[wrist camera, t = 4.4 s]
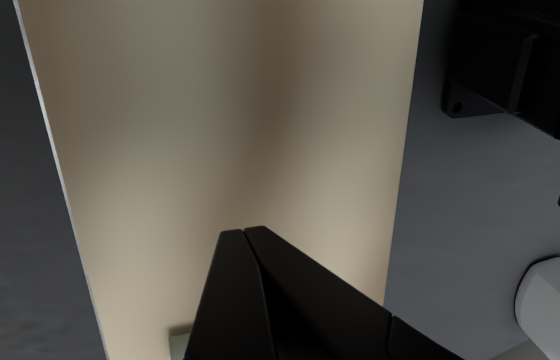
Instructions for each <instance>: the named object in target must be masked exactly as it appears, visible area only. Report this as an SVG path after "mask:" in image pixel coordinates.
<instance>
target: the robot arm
mask: <svg viewBox="0 0 560 360" xmlns="http://www.w3.org/2000/svg"><path fill="white" fill-rule="evenodd" d="M446 76H447V79H446V85H445V91H444V97H443V103H442V111H443V113H445V114H446V115H448V116H449V117H451V118H463V117H471V116H479V115H488V114H496V113H504V112H506V113H508V114H512V115H514V116H515V117H517V118H519V119H521V120H523V121H524V122H526V123H528V124H530V125H532V126H533V127H535V128H537V129H539V130H541V131H542V132H544V133H546V134H548V135H550V136H551V137H553V138H555V139H559V140H560V0H460V4H459V10H458V15H457V17H456V20H455V26H454V32H453V38H452V43H451V49H450V55H449V61H448V67H447V73H446ZM455 103H457V106H456V107H455V108H454V109H452V107H453V105H454V104H455ZM558 205H559V206H560V196H559V199H558ZM183 360H464V359H463V358H461V357H459V356H458V355H456V354H454V353H452V352H451V351H449V350H447V349H446V348H444V347H442V346H441V345H439V344H437V343H436V342H434V341H433V340H431V339H430V338H428V337H427V336H425V335H424V334H422V333H421V332H419V331H417V330H416V329H414V328H413V327H411V326H410V325H408V324H407V323H406V322H404V321H403V320H401V319H400V318H398V317H397V316H392V313H391V312H389V311H388V310H386V309H385V308H383V307H382V306H381V305H379V304H378V303H376V302H375V301H373V300H372V299H370V298H369V297H368V296H366V295H365V294H363V293H362V292H360V291H359V290H357V289H356V288H354V287H353V286H352V285H350V284H349V283H347V282H346V281H344V280H343V279H341V278H340V277H339V276H337V275H336V274H334V273H333V272H331V271H330V270H328V269H327V268H325V267H324V266H323V265H321V264H320V263H318V262H317V261H315V260H314V259H312V258H311V257H309V256H308V255H307V254H305V253H304V252H302V251H301V250H299V249H298V248H296V247H295V246H294V245H292V244H291V243H289V242H288V241H286V240H285V239H283V238H282V237H280V236H279V235H278V234H276V233H275V232H273V231H272V230H270V229H269V228H267V227H266V226H263V225H261V226H254V227H246V228H244V229H243V231H242V230H241V229H232V230H224V231H221V232H220V233H219V236H218V240H217V243H216V247H215V250H214V254H213V257H212V260H211V264H210V267H209V271H208V274H207V278H206V281H205V285H204V288H203V292H202V295H201V298H200V302H199V305H198V309H197V312H196V316H195V319H194V323H193V326H192V330H191V333H190V336H189V340H188V343H187V347H186V350H185V354H184V358H183Z"/></svg>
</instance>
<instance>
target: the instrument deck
mask: <svg viewBox="0 0 560 360" xmlns="http://www.w3.org/2000/svg"><path fill="white" fill-rule="evenodd" d="M17 1H18V5H19V9H20V12H21V16H22V20H23V24H24V28H25V32H26V36H27V40H28V44H29V48H30V51H31V55H32V59H33V63H34V67H35V71H36V75H37V79H38V83H39V86H40V90H41V94H42V98H43V102H44V106H45V110H46V114H47V118H48V122H49V125H50V129H51V133H52V137H53V141H54V145H55V149H56V153H57V157H58V161H59V164H60V168H61V172H62V176H63V180H64V184H65V188H66V192H67V196H68V200H69V203H70V207H71V211H72V215H73V219H74V223H75V227H76V231H77V235H78V239H79V242H80V246H81V250H82V254H83V258H84V262H85V266H86V270H87V274H88V278H89V281H90V285H91V289H92V293H93V297H94V301H95V305H96V309H97V313H98V317H99V320H100V324H101V328H102V332H103V336H104V340H105V344H106V348H107V352H108V356H109V359H110V360H183V358H184V354H185V350H186V347H187V343H188V340H189V336H190V333H191V330H192V326H193V323H194V319H195V316H196V312H197V309H198V305H199V302H200V298H201V295H202V292H203V288H204V285H205V281H206V278H207V274H208V271H209V267H210V264H211V260H212V257H213V254H214V250H215V247H216V243H217V240H218V236H219V233H220V232H221V231H224V230H232V229H241V230H242V231H243V229H244V228H246V227H254V226H261V225H263V226H266V227H267V228H269V229H270V230H272V231H273V232H275V233H276V234H278V235H279V236H280V237H282V238H283V239H285V240H286V241H288V242H289V243H291V244H292V245H294V246H295V247H296V248H298V249H299V250H301V251H302V252H304V253H305V254H307V255H308V256H309V257H311V258H312V259H314V260H315V261H317V262H318V263H320V264H321V265H323V266H324V267H325V268H327V269H328V270H330V271H331V272H333V273H334V274H336V275H337V276H339V277H340V278H341V279H343V280H344V281H346V282H347V283H349V284H350V285H352V286H353V287H354V288H356V289H357V290H359V291H360V292H362V293H363V294H365V295H366V296H368V297H369V298H370V299H372V300H373V301H375V302H376V303H378V304H379V305H381V306H382V307H383V301H384V293H385V286H386V278H387V271H388V264H389V256H390V249H391V241H392V234H393V226H394V219H395V211H396V204H397V196H398V189H399V181H400V174H401V166H402V159H403V151H404V144H405V137H406V129H407V122H408V114H409V107H410V99H411V92H412V84H413V77H414V69H415V62H416V54H417V47H418V39H419V32H420V25H421V17H422V10H423V2H424V0H17Z"/></svg>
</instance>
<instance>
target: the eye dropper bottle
mask: <svg viewBox="0 0 560 360" xmlns="http://www.w3.org/2000/svg"><path fill="white" fill-rule="evenodd" d="M515 314H516V318H517V321H518V324H519V325H520V327H521V329H522V330H523V331H524V332H525V333H526V334H527V335H528V336H529V337H530V338H531V340H532V341H533V342H534V343H535V344H536V345H537V346H538V347H539V348H540V349H541V350H542V351H543V352H544V353H545V355H546V356H547V357H548V358H549V359H550V360H560V257H556V258H552V259H549V260H546V261H542V262H539V263H536V264H535V265H533V266H532V267H531V268H530V269H529V270H528V271H527V273H526V275H525V276H524V278H523V280H522V282H521V284H520V287H519V289H518V292H517V295H516V301H515Z"/></svg>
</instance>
